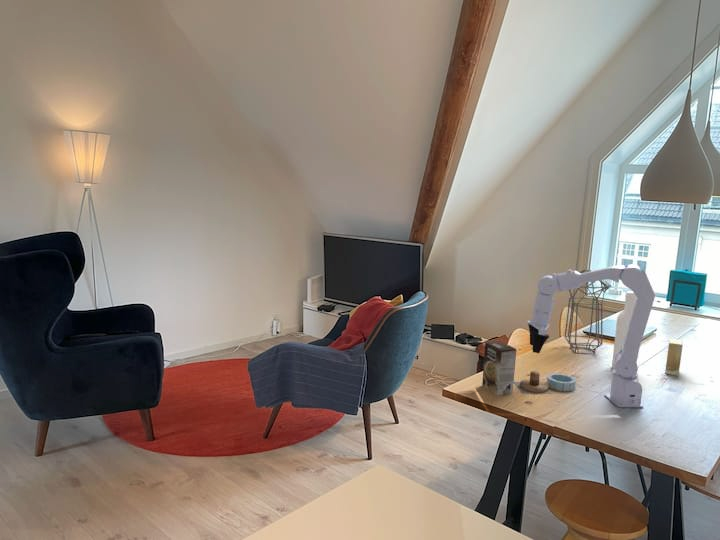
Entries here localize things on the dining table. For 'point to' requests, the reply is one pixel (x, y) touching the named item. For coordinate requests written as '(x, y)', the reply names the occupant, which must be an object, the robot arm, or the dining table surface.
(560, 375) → the bowl
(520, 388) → the plate
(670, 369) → the skincare box
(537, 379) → the lid
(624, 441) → the dining table surface
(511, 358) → the coffee box
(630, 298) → the bottle
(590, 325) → the geometric lantern
